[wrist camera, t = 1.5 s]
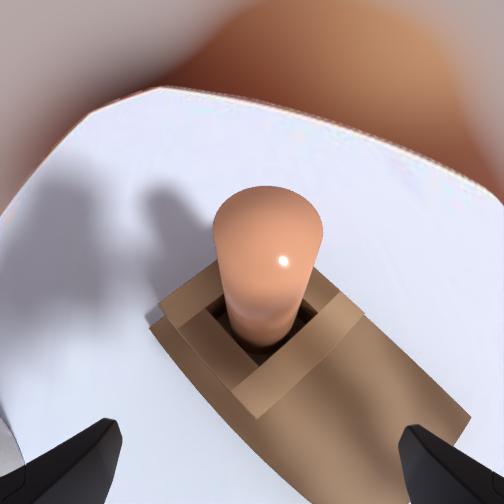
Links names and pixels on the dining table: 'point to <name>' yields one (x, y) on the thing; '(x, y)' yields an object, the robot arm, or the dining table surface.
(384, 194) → the dining table surface
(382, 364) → the wooden socket base
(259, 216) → the plug
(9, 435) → the utensil holder
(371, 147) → the dining table surface
